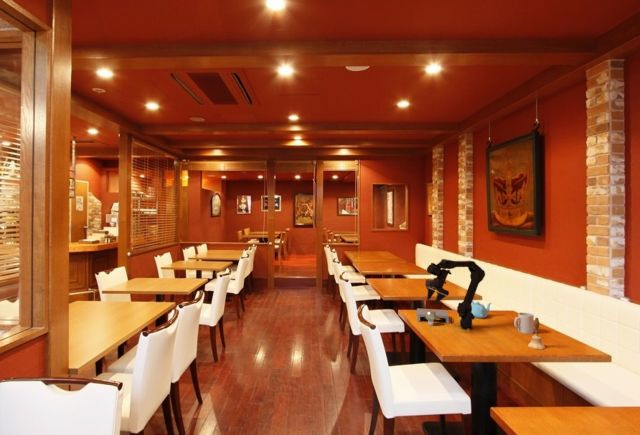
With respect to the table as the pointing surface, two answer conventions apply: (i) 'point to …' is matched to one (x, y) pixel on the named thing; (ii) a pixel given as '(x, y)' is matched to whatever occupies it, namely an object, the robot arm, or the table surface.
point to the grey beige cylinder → (430, 317)
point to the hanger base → (438, 314)
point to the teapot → (479, 310)
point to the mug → (525, 323)
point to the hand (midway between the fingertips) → (431, 301)
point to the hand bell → (536, 337)
